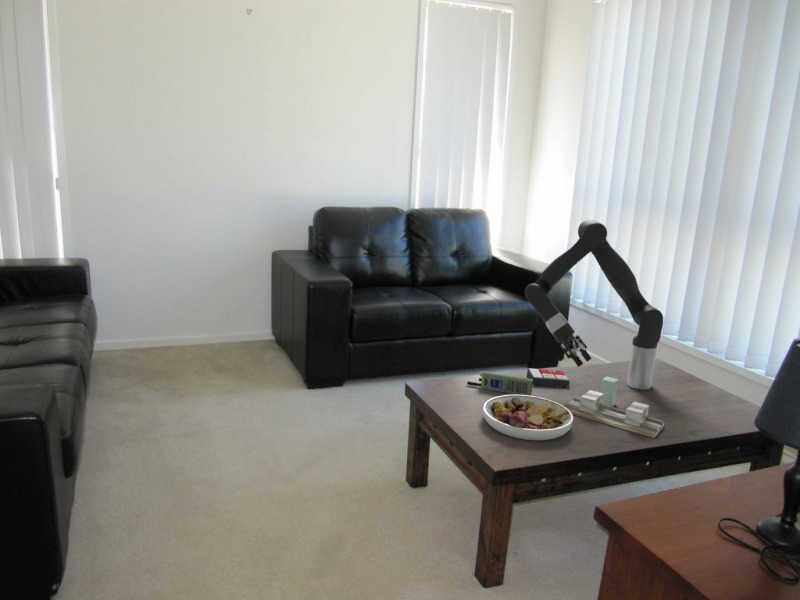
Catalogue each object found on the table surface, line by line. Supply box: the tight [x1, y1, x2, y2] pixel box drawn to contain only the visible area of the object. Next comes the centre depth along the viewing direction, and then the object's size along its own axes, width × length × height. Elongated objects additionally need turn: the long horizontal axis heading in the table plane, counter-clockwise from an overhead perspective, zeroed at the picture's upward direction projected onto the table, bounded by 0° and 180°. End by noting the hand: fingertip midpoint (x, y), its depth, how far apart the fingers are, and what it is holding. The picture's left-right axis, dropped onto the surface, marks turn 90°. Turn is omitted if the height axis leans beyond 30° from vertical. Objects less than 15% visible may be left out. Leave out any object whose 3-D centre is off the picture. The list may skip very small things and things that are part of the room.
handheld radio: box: [466, 371, 533, 396], centre depth 244 cm, size 7×3×25 cm
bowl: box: [482, 394, 574, 441], centre depth 214 cm, size 30×30×8 cm
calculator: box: [526, 368, 571, 388], centre depth 256 cm, size 11×4×15 cm
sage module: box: [600, 375, 619, 407], centre depth 234 cm, size 4×4×10 cm
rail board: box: [564, 389, 665, 439], centre depth 222 cm, size 12×32×7 cm, turn 53°
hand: (585, 362), depth 238 cm, fingers open, 8 cm apart
